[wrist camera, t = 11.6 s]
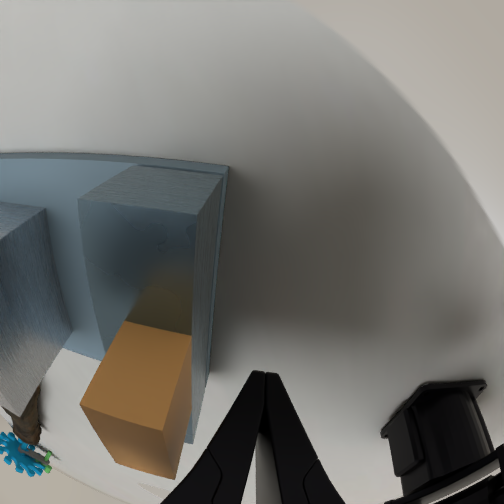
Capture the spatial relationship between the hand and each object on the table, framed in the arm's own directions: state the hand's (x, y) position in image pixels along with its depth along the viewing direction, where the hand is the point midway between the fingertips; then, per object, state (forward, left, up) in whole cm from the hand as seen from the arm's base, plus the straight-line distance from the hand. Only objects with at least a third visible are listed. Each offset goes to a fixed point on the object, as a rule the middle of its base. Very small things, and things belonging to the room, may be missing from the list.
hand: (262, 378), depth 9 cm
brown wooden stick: (+22, +19, -5) cm, 29 cm away
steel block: (+12, 0, -3) cm, 12 cm away
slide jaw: (+4, 0, -3) cm, 5 cm away
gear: (+33, +41, -4) cm, 53 cm away
